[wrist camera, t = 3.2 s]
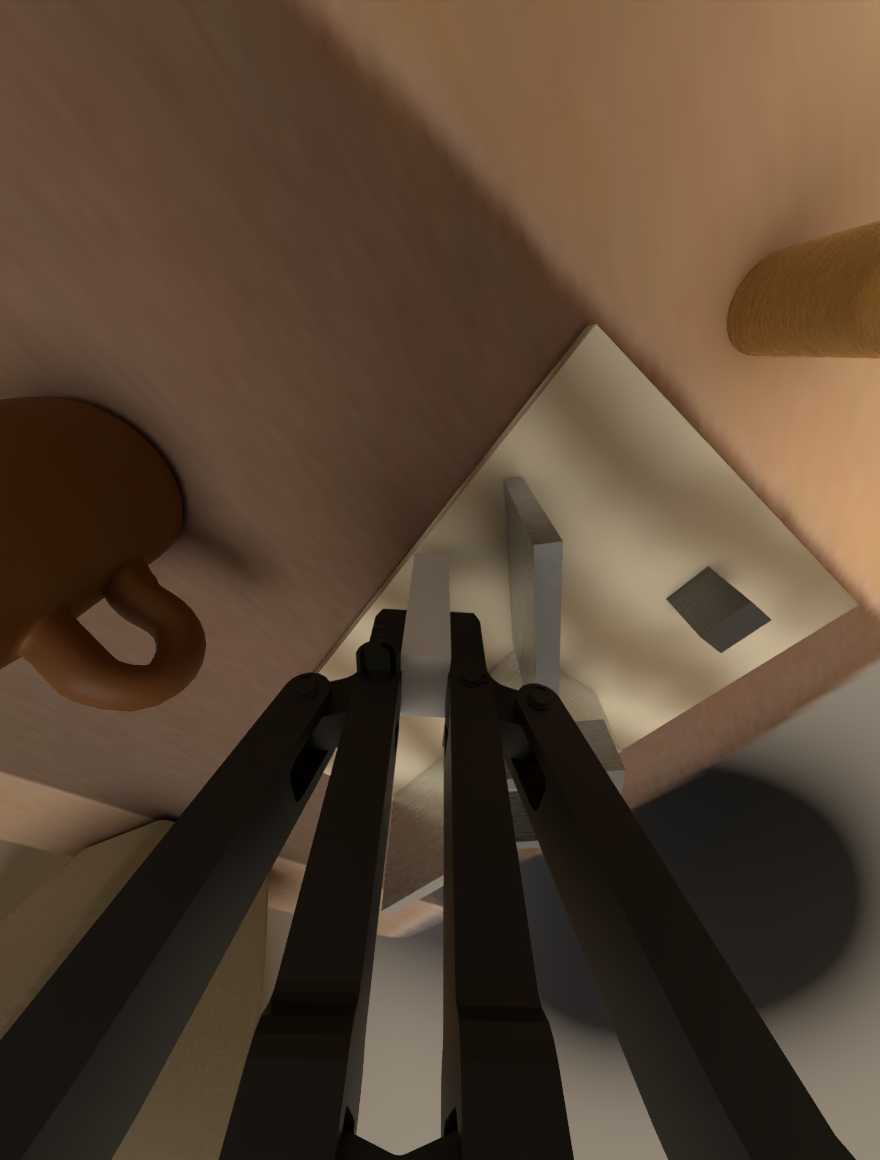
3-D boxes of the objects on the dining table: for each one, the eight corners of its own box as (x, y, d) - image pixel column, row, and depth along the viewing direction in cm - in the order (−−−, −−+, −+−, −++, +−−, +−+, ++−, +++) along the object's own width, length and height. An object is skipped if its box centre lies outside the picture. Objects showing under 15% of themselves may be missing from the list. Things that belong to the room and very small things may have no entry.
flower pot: (191, 911, 44) (68, 1186, 29) (28, 842, 35) (-258, 1181, 21) (317, 875, 39) (242, 1187, 24) (160, 784, 30) (-99, 1181, 16)
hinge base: (657, 520, 17) (774, 613, 11) (734, 590, 19) (869, 700, 13) (363, 782, 28) (342, 900, 22) (431, 809, 30) (428, 924, 24)
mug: (302, 530, 18) (194, 669, 10) (238, 624, 22) (116, 788, 14) (26, 348, 15) (-488, 346, 6) (-5, 495, 18) (-379, 616, 10)
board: (586, 325, 14) (596, 324, 13) (840, 593, 20) (858, 604, 19) (264, 734, 27) (258, 747, 26) (481, 823, 33) (482, 835, 32)
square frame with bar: (439, 488, 16) (437, 562, 10) (588, 467, 15) (670, 532, 10) (476, 738, 25) (486, 850, 19) (573, 729, 24) (611, 843, 19)
